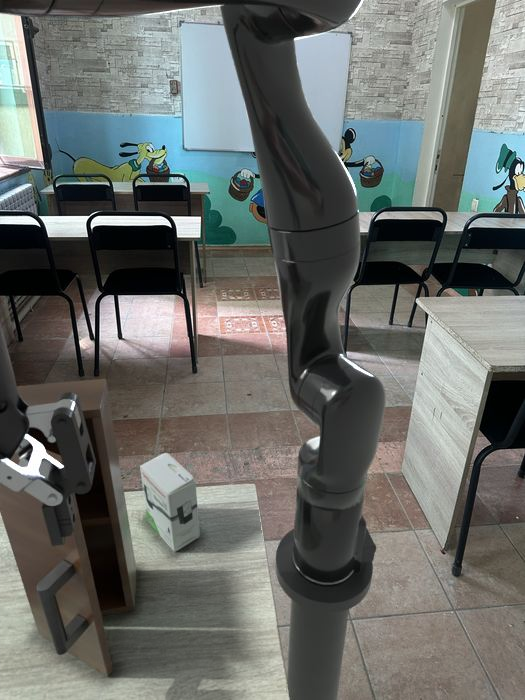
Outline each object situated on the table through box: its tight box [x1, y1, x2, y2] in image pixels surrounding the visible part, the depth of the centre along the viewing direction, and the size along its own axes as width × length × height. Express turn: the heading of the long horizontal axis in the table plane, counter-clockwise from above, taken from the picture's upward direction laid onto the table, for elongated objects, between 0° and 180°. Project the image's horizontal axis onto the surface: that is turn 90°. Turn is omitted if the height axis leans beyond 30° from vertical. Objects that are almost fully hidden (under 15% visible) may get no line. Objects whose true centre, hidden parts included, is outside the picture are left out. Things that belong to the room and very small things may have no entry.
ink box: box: [139, 452, 200, 553], centre depth 74 cm, size 9×5×12 cm, turn 42°
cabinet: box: [16, 378, 137, 616], centre depth 59 cm, size 6×12×32 cm, turn 101°
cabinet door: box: [0, 450, 114, 678], centre depth 50 cm, size 5×12×32 cm, turn 63°
